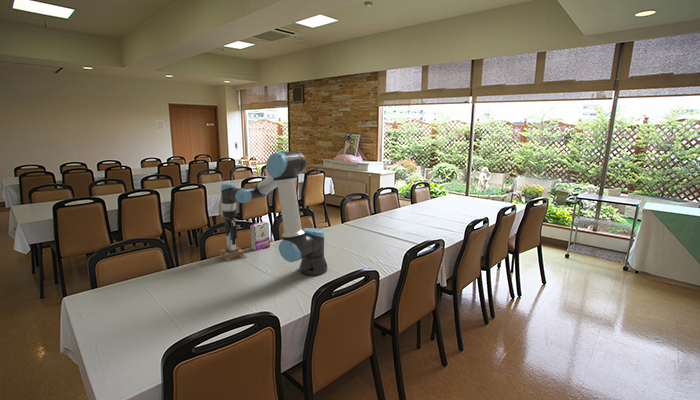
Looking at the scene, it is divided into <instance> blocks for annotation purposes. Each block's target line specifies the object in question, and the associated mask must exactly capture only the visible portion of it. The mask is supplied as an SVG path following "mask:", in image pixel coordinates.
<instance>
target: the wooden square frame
mask: <svg viewBox="0 0 700 400" xmlns="http://www.w3.org/2000/svg"><path fill="white" fill-rule="evenodd" d="M243 254H244V250H243V249H241V248H240V247H239V246H236V251H235V252H230V253H229V248H228V247H227V248H222V249H220V255H221V256H220V257H221V258H222V259H223V260H225V261H226V262H227V261H230V260H234V259H239V258H244V255H245V254H244V255H243Z"/></svg>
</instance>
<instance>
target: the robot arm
mask: <svg viewBox="0 0 700 400" xmlns="http://www.w3.org/2000/svg"><path fill="white" fill-rule="evenodd" d="M265 167H266V168H265V169H266V173H267V174H268V176H267V177H265V178H264V179H263V180H261V181H260V182H258V183H257V184H256V185H252V186H246V187H236V185H235V183H234V182H223V183H221V185H220V189H221V190H220V192H221V193H220V195H221V209H222V217H223V220H224V234H225V235H226V246H227V248H228V234H229V233H230V235H231V239H230V240H231V250H236V247H237V242H236V240H237V239H238V233H237V222H236V221H235V217H237V215H238V214H237V202H238V203H241V204H246V203H249V202H250V201H252V200H257V199H263V198H266V197H267V196H268V195H269V193H270V192H272V191H273V190H275V189H276V188H277V193H278V199H279V204H280V211H281V218H282V224H283V225H282V226H283V233H282V234H281V239H282V240H281V241H280V243H279V244H278V252H279V254H280V256H281V257H282V259H284V260H285V261H287V262H288V263H295V262H298V261H300V260H301V261H300V264H299V267H298V268H299V273H301V274H302V275H305V276H312V277H313V276H320V275H323V274H325V273H327V271H328V263H327V260H326V258H325V231H324V230H322V229H320V228H315V227H305V228H302V223H301V216H300V215H301V214H300V207H299V203H298V197H297V189H296V180H297V179H298V176H299V175H301V174H302V173H304V172H305V171H306V170H307V167H308V160H307V157H306V156H305V155H304V153H302V152H300V151H297V150H294V151H279V152H273V153H272V154H271V155H269V157H268V158H267V160H266V165H265Z"/></svg>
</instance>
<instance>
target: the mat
mask: <svg viewBox="0 0 700 400" xmlns="http://www.w3.org/2000/svg"><path fill="white" fill-rule="evenodd" d="M243 255H244V258H239V259H234V260H230V261H226V262H227V263H231V262H235V261H241V260H245V259H248V258H249V257H248V256H247V255H245V254H244V253H243ZM219 256H220V257H221V254H220V255H219Z"/></svg>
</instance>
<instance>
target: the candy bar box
mask: <svg viewBox="0 0 700 400" xmlns="http://www.w3.org/2000/svg"><path fill="white" fill-rule="evenodd" d="M269 224H270V223H269V222H268V221H261V222H256V223H254V224H251V225H250V240H251V241H250V242H251V250H253V251H256V252H257V251H261V250H264V249H268V248H270V246H271V242H270V225H269Z"/></svg>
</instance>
